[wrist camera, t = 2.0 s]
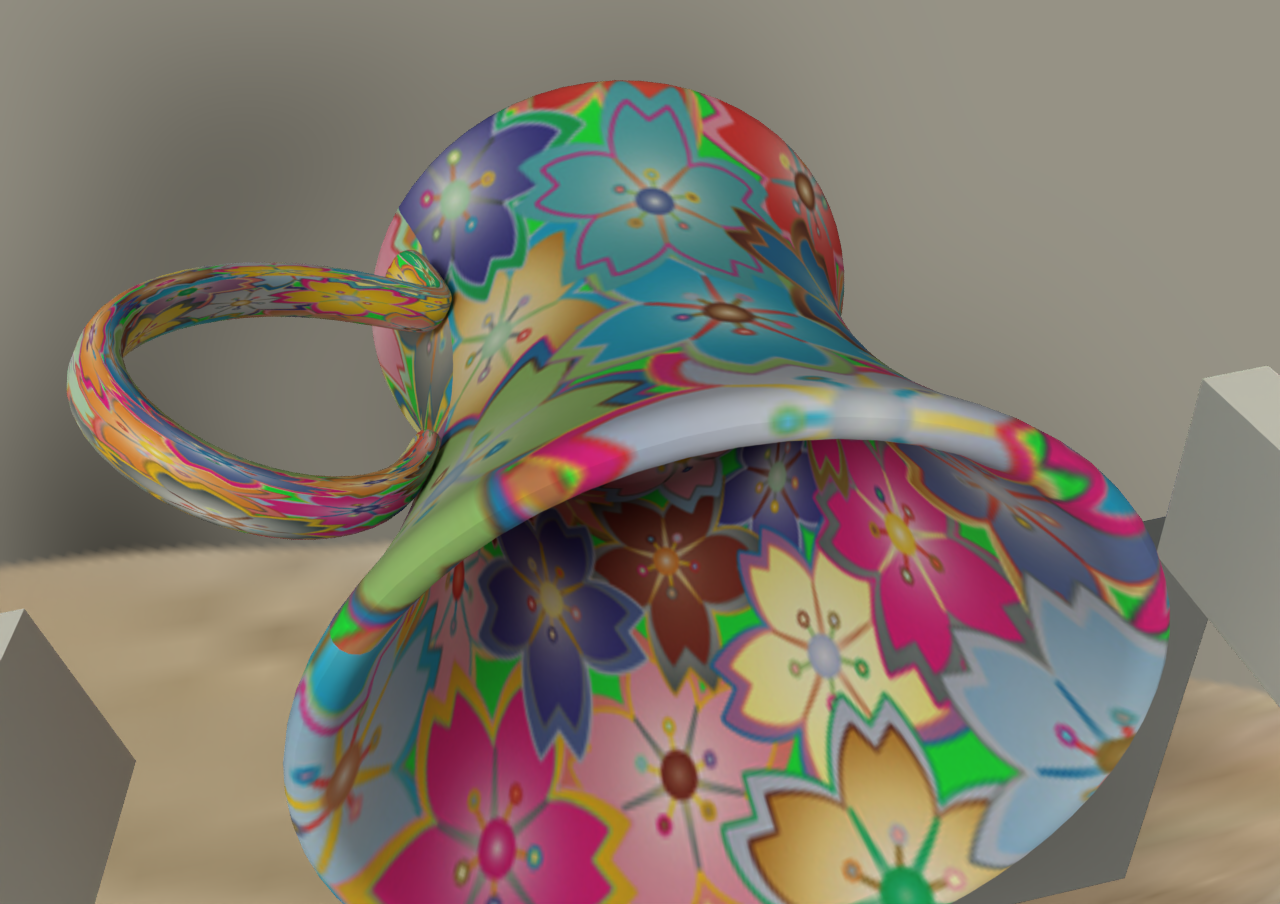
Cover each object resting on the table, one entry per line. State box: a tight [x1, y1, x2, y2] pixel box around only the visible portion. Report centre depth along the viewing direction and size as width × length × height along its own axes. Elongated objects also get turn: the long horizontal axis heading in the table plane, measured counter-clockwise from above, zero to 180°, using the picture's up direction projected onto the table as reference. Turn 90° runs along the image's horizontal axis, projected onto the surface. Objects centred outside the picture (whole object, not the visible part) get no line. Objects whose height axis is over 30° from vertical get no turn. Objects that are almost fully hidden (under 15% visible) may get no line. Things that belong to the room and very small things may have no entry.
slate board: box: [951, 517, 1208, 904], centre depth 29 cm, size 16×16×1 cm
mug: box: [67, 80, 1170, 904], centre depth 14 cm, size 12×9×11 cm
